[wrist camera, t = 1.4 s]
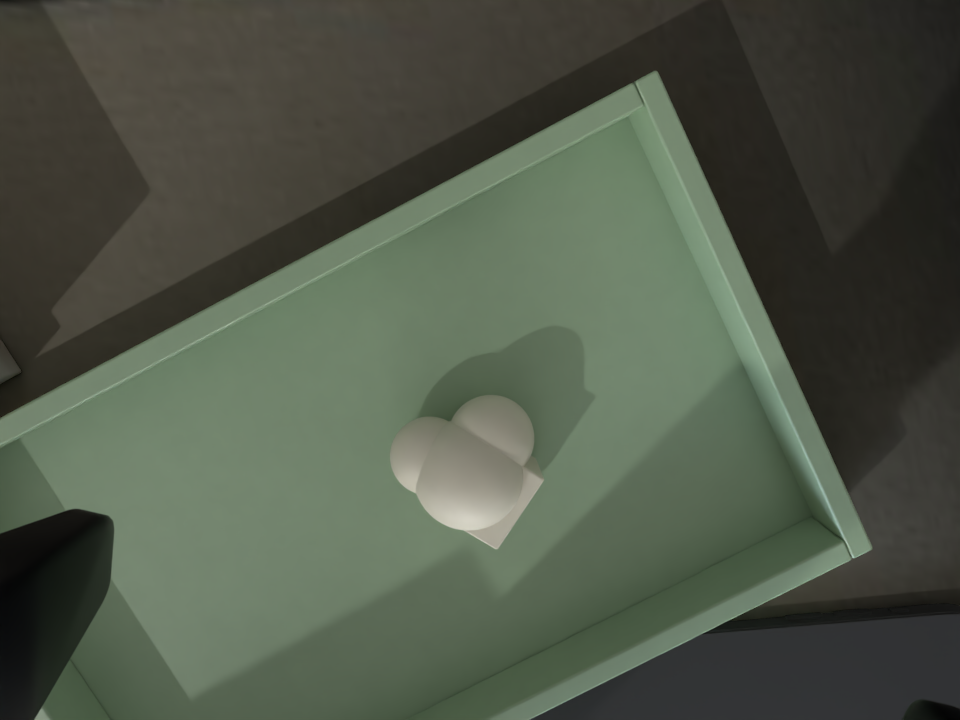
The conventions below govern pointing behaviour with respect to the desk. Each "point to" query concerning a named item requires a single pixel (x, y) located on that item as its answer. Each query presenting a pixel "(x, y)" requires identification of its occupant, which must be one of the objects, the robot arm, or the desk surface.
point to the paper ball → (471, 466)
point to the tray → (440, 393)
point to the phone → (791, 670)
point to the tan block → (7, 364)
